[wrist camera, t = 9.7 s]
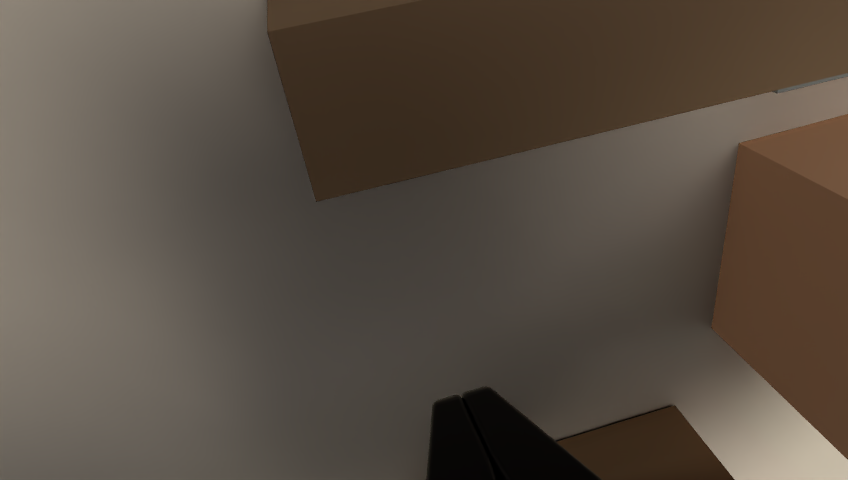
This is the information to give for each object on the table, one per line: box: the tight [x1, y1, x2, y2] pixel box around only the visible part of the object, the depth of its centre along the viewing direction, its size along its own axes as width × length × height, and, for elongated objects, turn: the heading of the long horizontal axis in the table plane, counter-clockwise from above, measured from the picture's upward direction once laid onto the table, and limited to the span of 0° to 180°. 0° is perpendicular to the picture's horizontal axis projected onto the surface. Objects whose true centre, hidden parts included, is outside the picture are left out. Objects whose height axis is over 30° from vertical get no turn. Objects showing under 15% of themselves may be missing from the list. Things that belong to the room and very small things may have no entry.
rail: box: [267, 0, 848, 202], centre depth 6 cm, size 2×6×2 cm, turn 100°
